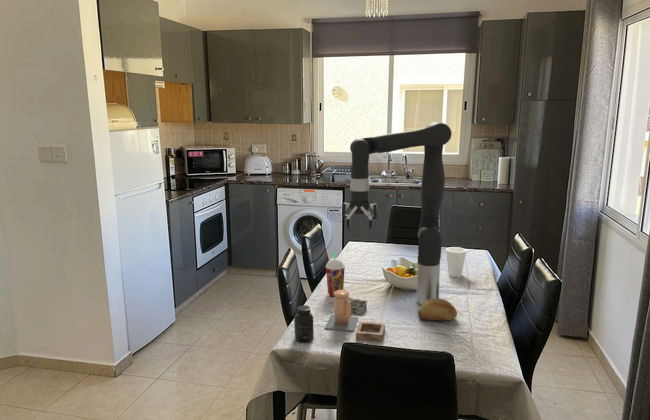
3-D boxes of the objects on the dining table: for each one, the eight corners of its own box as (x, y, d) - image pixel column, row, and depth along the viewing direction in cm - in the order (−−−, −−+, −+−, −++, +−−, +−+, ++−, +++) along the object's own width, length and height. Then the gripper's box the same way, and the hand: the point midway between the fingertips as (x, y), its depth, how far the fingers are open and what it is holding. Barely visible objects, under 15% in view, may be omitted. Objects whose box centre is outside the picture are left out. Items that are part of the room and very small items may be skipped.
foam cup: (443, 276, 234) (444, 251, 231) (446, 271, 242) (447, 246, 239) (463, 279, 230) (465, 253, 228) (465, 273, 239) (467, 248, 236)
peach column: (331, 321, 184) (330, 292, 181) (342, 317, 188) (342, 288, 185) (343, 328, 178) (343, 298, 175) (355, 324, 182) (355, 294, 179)
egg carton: (337, 310, 196) (337, 301, 195) (345, 304, 203) (345, 295, 202) (362, 315, 192) (362, 305, 191) (368, 308, 198) (368, 298, 197)
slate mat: (358, 318, 188) (358, 317, 188) (353, 331, 177) (353, 330, 176) (331, 316, 190) (331, 314, 190) (324, 329, 179) (324, 328, 179)
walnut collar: (384, 329, 178) (384, 323, 177) (382, 341, 169) (382, 334, 168) (359, 327, 180) (359, 321, 179) (356, 339, 171) (356, 332, 170)
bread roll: (459, 324, 181) (459, 305, 180) (419, 323, 183) (419, 304, 181) (454, 314, 191) (455, 295, 189) (416, 313, 192) (417, 294, 190)
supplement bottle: (294, 335, 175) (293, 304, 172) (313, 334, 175) (312, 303, 173) (294, 344, 168) (294, 312, 166) (314, 342, 168) (313, 311, 166)
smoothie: (343, 299, 207) (342, 255, 203) (324, 298, 209) (323, 254, 205) (346, 292, 215) (346, 249, 211) (328, 291, 217) (327, 249, 213)
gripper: (340, 190, 190) (340, 229, 193) (376, 191, 187) (376, 231, 190) (343, 187, 197) (344, 225, 200) (378, 188, 194) (378, 226, 197)
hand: (359, 228), depth 195 cm, fingers open, 8 cm apart
